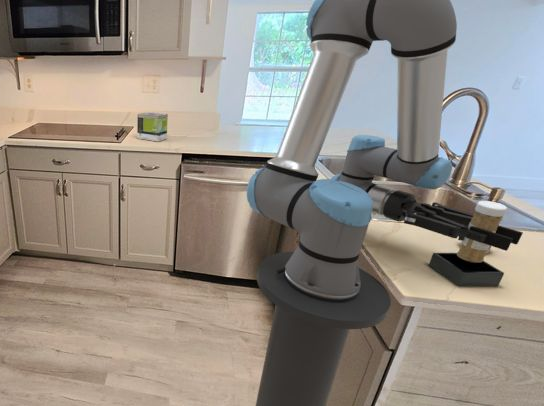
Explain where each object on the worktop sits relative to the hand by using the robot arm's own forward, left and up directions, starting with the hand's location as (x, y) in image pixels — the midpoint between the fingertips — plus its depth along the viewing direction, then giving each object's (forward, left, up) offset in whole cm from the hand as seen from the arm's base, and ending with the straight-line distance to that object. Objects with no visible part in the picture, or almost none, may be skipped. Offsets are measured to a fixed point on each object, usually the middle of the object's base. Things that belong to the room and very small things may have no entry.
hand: (514, 241), depth 76 cm
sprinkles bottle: (-3, +5, -7) cm, 9 cm away
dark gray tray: (-3, +5, -11) cm, 13 cm away
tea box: (-64, +145, -12) cm, 158 cm away
